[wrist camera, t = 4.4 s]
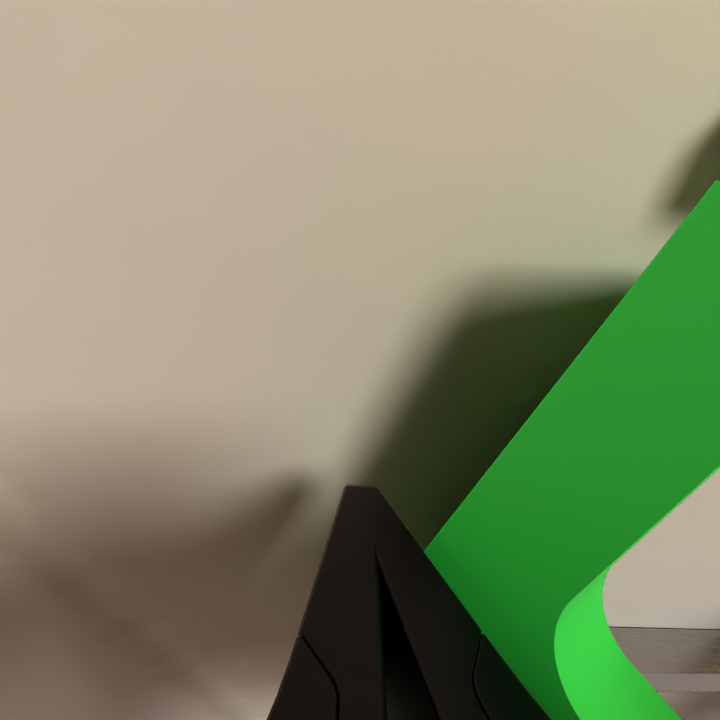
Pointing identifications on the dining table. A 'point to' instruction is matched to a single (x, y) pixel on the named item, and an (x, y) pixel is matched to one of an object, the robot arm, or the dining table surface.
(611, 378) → the mechanical part
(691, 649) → the u-shaped frame
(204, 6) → the dining table surface
